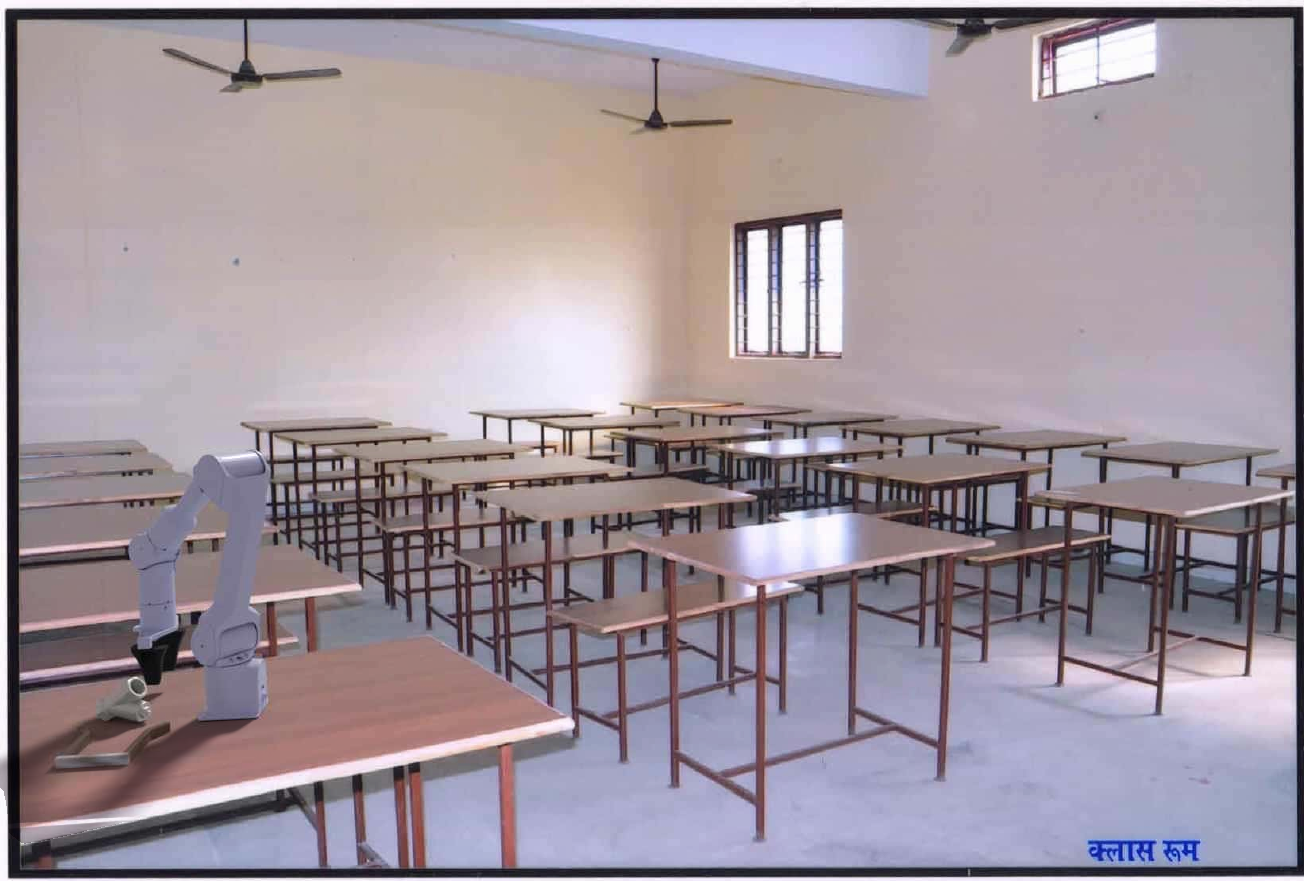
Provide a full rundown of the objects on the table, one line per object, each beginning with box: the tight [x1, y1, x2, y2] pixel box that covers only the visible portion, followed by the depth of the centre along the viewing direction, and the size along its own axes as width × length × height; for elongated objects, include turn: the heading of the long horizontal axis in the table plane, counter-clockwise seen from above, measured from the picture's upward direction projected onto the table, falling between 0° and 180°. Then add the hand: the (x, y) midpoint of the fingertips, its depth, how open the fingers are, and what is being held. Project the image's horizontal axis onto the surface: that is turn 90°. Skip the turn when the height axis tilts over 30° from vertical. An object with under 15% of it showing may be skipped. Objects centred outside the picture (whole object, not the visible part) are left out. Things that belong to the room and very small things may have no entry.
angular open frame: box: [53, 721, 171, 769], centre depth 156 cm, size 14×13×2 cm
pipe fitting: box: [94, 676, 153, 723], centre depth 167 cm, size 8×4×7 cm
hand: (161, 677), depth 178 cm, fingers open, 7 cm apart
